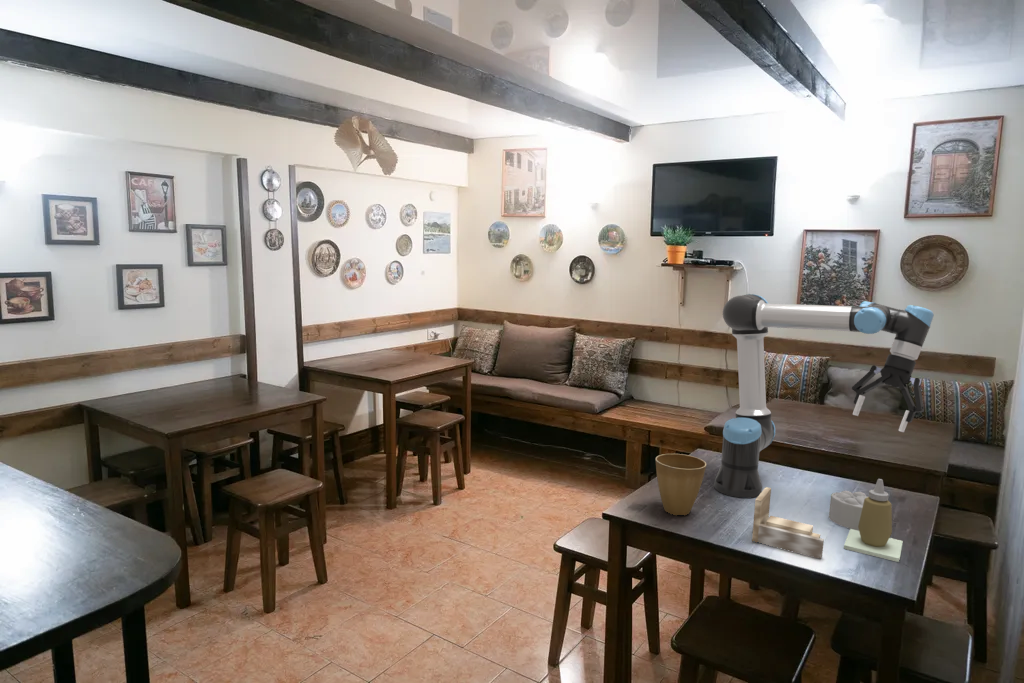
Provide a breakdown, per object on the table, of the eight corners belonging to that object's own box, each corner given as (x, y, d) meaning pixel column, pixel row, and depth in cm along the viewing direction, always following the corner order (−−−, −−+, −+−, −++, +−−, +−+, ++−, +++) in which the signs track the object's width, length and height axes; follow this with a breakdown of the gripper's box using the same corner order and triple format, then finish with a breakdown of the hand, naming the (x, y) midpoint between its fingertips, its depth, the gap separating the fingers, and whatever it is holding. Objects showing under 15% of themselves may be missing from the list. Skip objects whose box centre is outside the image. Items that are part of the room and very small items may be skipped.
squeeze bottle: (882, 537, 183) (888, 475, 180) (895, 550, 175) (903, 485, 173) (851, 535, 184) (858, 473, 181) (864, 548, 176) (871, 483, 173)
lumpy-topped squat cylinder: (870, 534, 187) (873, 505, 186) (822, 520, 196) (825, 492, 195) (881, 524, 194) (884, 496, 193) (835, 511, 204) (838, 484, 202)
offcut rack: (751, 541, 181) (755, 499, 179) (762, 526, 191) (765, 487, 189) (821, 559, 171) (825, 515, 169) (828, 542, 181) (832, 501, 179)
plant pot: (694, 525, 190) (698, 472, 188) (645, 513, 198) (648, 462, 196) (708, 508, 203) (712, 458, 201) (662, 498, 211) (665, 450, 208)
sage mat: (843, 548, 178) (844, 545, 177) (850, 532, 188) (850, 528, 188) (899, 562, 171) (899, 558, 170) (902, 544, 181) (902, 540, 181)
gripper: (952, 371, 190) (925, 439, 192) (865, 347, 209) (842, 410, 211) (944, 367, 185) (917, 437, 187) (856, 343, 204) (832, 407, 206)
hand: (877, 423), depth 199 cm, fingers open, 13 cm apart
